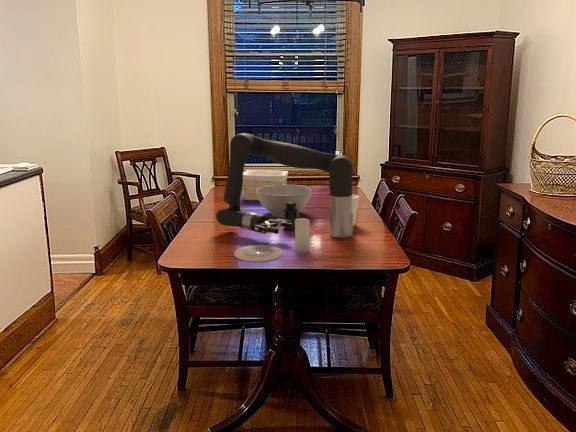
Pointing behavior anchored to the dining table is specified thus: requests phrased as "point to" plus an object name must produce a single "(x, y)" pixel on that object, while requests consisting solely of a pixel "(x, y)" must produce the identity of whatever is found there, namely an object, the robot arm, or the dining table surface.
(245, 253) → the dish
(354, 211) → the foam cup
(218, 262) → the dining table surface
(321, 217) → the dining table surface
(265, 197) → the decorative bowl
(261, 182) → the storage basket
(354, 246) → the dining table surface
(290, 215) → the supplement bottle
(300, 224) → the white tapered cylinder
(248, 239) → the dining table surface
